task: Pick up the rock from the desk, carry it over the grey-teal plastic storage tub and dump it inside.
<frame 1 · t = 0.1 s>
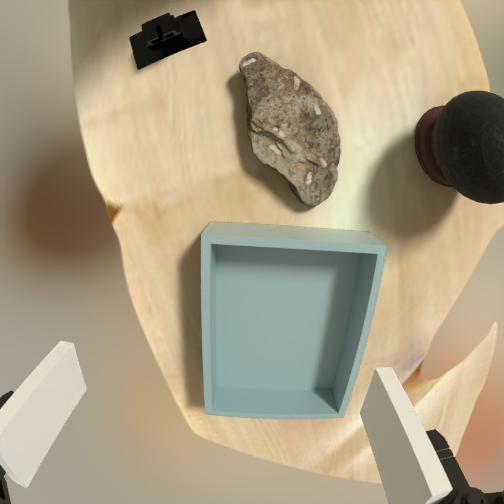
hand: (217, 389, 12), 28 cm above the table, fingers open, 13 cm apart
black globe on stand: (447, 146, 35), on the table
rock: (291, 127, 35), on the table
build plate: (168, 39, 32), on the table
storage tub: (282, 319, 42), on the table
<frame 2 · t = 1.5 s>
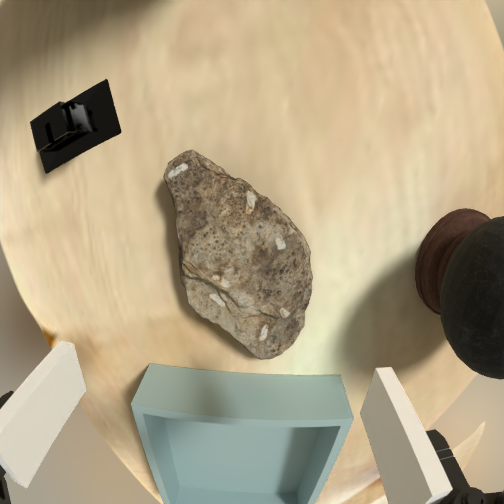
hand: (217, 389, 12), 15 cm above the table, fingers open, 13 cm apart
black globe on stand: (459, 262, 26), on the table
rock: (245, 256, 27), on the table
build plate: (76, 128, 24), on the table
storage tub: (240, 446, 34), on the table
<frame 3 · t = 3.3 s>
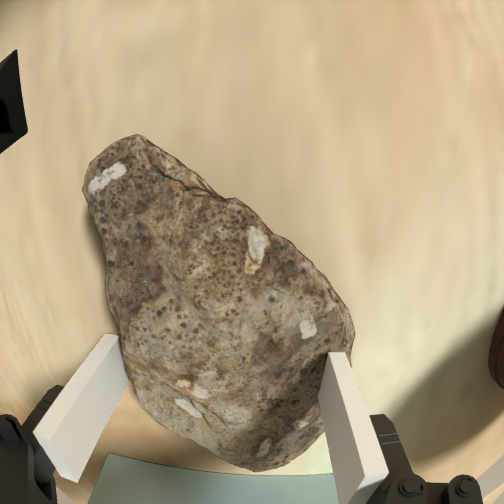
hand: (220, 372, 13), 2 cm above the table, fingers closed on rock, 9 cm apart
rock: (239, 332, 15), on the table, touching gripper
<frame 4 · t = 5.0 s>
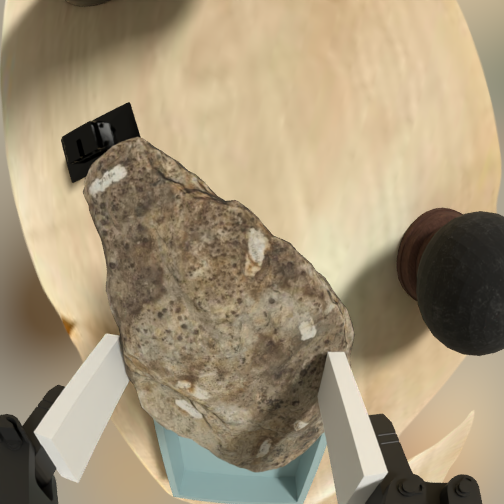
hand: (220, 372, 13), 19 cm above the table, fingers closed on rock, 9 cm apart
black globe on stand: (437, 256, 31), on the table
rock: (239, 333, 15), point 17 cm above the table, touching gripper
build plate: (101, 143, 29), on the table
storage tub: (242, 427, 38), on the table
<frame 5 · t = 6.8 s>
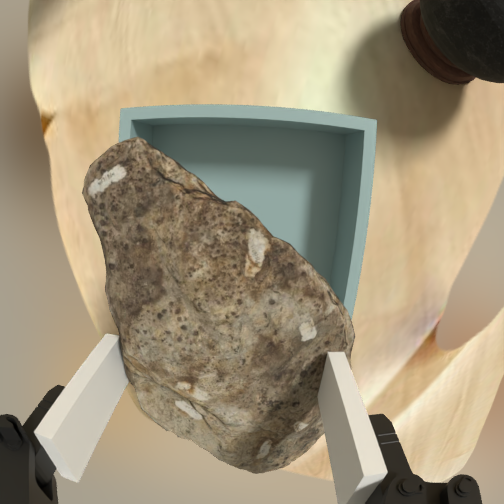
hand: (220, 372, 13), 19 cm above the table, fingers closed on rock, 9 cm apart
black globe on stand: (442, 40, 24), on the table
rock: (239, 334, 15), point 17 cm above the table, touching gripper
storage tub: (242, 249, 31), on the table
when the fingers open (7 cm above the table, at t = 9.3 s): rock drops 4 cm, resting on storage tub.
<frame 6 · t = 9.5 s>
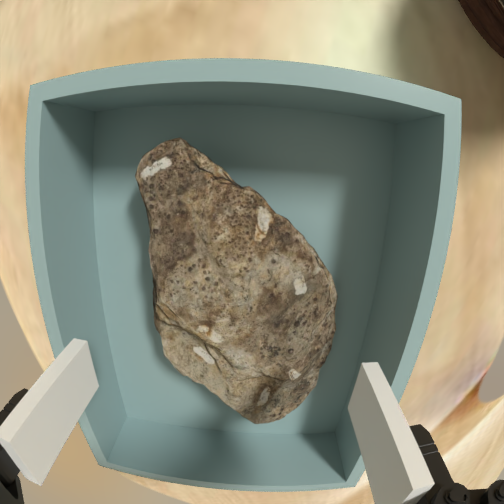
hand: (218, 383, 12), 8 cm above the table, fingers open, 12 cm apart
black globe on stand: (500, 10, 13), on the table
rock: (246, 294, 19), point 1 cm above the table, touching storage tub
storage tub: (233, 300, 20), on the table
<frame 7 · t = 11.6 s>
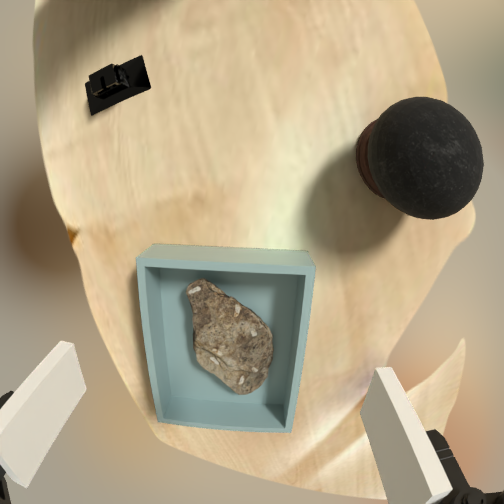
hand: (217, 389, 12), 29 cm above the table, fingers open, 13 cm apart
black globe on stand: (394, 158, 36), on the table
rock: (233, 334, 42), point 1 cm above the table, touching storage tub
build plate: (117, 86, 35), on the table
storage tub: (227, 336, 43), on the table
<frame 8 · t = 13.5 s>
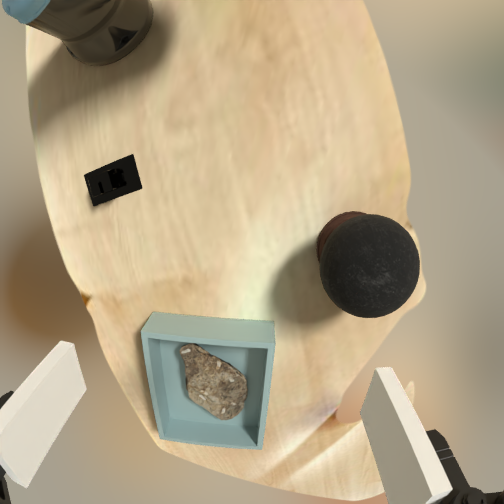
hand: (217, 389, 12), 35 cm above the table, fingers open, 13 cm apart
black globe on stand: (352, 247, 46), on the table
rock: (216, 377, 53), point 1 cm above the table, touching storage tub
build plate: (113, 180, 45), on the table
storage tub: (212, 378, 54), on the table
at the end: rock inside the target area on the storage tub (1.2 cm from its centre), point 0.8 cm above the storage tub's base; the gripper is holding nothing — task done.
